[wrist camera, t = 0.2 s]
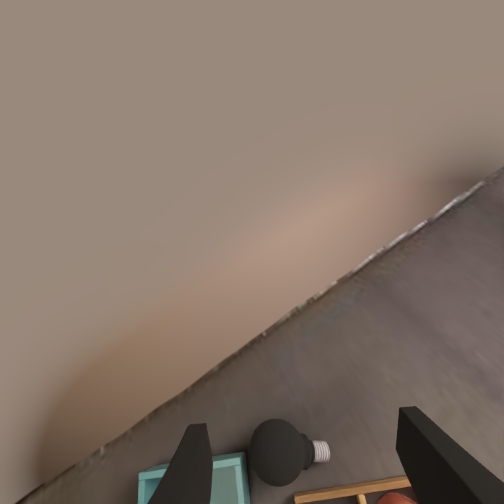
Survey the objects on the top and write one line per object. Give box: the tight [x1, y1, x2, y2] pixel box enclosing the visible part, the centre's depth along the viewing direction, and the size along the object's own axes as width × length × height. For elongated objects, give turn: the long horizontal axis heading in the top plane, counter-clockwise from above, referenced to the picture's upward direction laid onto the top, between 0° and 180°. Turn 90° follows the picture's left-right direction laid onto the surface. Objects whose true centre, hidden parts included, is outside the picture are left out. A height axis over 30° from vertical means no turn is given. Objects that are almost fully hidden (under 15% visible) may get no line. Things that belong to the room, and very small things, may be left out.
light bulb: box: [249, 419, 330, 486], centre depth 34 cm, size 6×6×10 cm
